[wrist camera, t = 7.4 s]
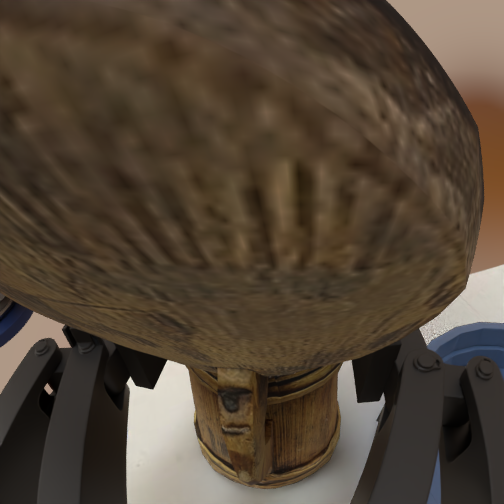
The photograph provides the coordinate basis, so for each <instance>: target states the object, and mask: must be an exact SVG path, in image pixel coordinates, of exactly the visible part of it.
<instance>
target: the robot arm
mask: <svg viewBox="0 0 504 504" xmlns="http://www.w3.org/2000/svg"><path fill="white" fill-rule="evenodd" d="M15 303H16V302H15V301H13V300H11V299H10V298H8V297H6V296H5V295H3V294H1V293H0V322H1V321H2V320H3V319H4V318H5V317H6V316H7V315H8V314H9V312H10V311H11V310H12V308H13V307H14V305H15ZM62 331H63V333H64V335H65V336H66V338H67V340H68V342H69V344H70V346H71V347H72V348H59V347H58V345H57V344H56V342H55V341H54V339H51V338H45V339H42V340H39V341H38V342H37V343H35V344H34V345H33V347H32V348H31V349H30V350H29V352H28V353H27V355H26V356H25V357H24V359H23V360H22V362H21V363H20V365H19V366H18V368H17V369H16V371H15V372H14V374H13V375H12V377H11V378H10V380H9V382H8V383H7V385H6V386H5V388H4V389H3V391H2V393H1V394H0V504H127V489H126V448H127V423H128V408H129V395H130V391H129V387H128V385H127V384H126V383H127V381H128V379H129V378H130V376H131V378H132V380H133V382H134V383H135V385H136V386H139V387H144V388H148V389H154V387H155V385H156V383H157V381H158V378H159V376H160V374H161V372H162V370H163V368H164V366H165V364H166V362H167V359H164V358H161V357H158V356H154V355H151V354H147V353H144V352H140V351H137V350H134V349H131V348H128V347H125V346H122V345H119V344H116V343H114V342H111V341H108V340H105V339H103V338H100V337H98V336H95V335H92V334H90V333H87V332H84V331H81V330H79V329H76V328H73V327H70V326H67V325H65V326H64V327H63V329H62ZM352 365H353V372H354V379H355V386H356V394H357V402H358V403H363V402H374V401H379V400H380V398H381V396H382V394H383V392H384V397H385V402H386V403H385V405H384V407H383V409H382V411H381V413H380V415H379V417H378V419H377V421H379V423H378V427H377V430H376V434H375V437H374V440H373V443H372V447H371V450H370V453H369V456H368V459H367V462H366V464H365V467H364V470H363V473H362V475H361V478H360V481H359V483H358V486H357V488H356V491H355V493H354V496H353V498H352V500H351V503H350V504H427V501H428V497H429V493H430V489H431V485H432V481H433V476H434V471H435V466H436V461H437V455H438V450H439V462H440V482H441V504H504V379H503V377H502V374H501V371H500V369H499V367H498V365H497V364H496V363H495V362H494V361H493V360H492V359H490V358H488V357H486V356H475V357H473V358H472V359H471V360H469V362H468V364H467V365H466V366H457V365H450V364H446V363H444V362H443V360H442V358H441V357H440V355H439V354H437V353H436V352H434V351H433V350H429V349H428V348H427V346H426V343H425V341H424V339H423V336H422V334H421V332H420V329H419V328H418V329H417V330H415V331H414V332H412V333H410V334H409V335H407V336H405V337H404V338H402V339H400V340H398V341H396V342H394V343H392V344H390V345H388V346H386V347H384V348H382V349H380V350H377V351H375V352H373V353H370V354H368V355H365V356H363V357H360V358H357V359H353V360H352ZM47 383H48V384H49V386H50V387H51V389H52V390H53V392H52V393H51V394H50V395H49V394H48V393H47V392H46V390H45V389H44V387H45V385H46V384H47Z"/></svg>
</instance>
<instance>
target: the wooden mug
mask: <svg viewBox="0 0 504 504" xmlns="http://www.w3.org/2000/svg"><path fill="white" fill-rule="evenodd" d="M483 204H484V182H483V166H482V155H481V147H480V139H479V132H478V127H477V124H476V123H475V121H474V119H473V117H472V115H471V113H470V111H469V109H468V108H467V106H466V104H465V102H464V101H463V99H462V97H461V95H460V94H459V92H458V91H457V89H456V87H455V86H454V84H453V83H452V81H451V79H450V78H449V77H448V75H447V73H446V72H445V70H444V69H443V68H442V66H441V65H440V63H439V62H438V60H437V59H436V58H435V56H434V55H433V54H432V52H431V51H430V50H429V48H428V47H427V46H426V45H425V43H424V42H423V41H422V39H421V38H420V37H419V36H418V35H417V33H416V32H415V31H414V30H413V29H412V28H411V26H410V25H409V24H408V23H407V22H406V21H405V20H404V18H403V17H402V16H401V15H400V14H399V13H398V12H397V11H396V10H395V9H394V8H393V7H392V6H391V5H390V4H389V3H388V2H387V1H386V0H0V293H1V294H3V295H5V296H6V297H8V298H10V299H11V300H13V301H15V302H17V303H19V304H20V305H22V306H24V307H26V308H28V309H30V310H32V311H34V312H36V313H39V314H41V315H43V316H45V317H48V318H50V319H53V320H55V321H57V322H59V323H62V324H65V325H67V326H70V327H73V328H76V329H79V330H81V331H84V332H87V333H90V334H92V335H95V336H98V337H100V338H103V339H105V340H108V341H111V342H114V343H116V344H119V345H122V346H125V347H128V348H131V349H134V350H137V351H140V352H144V353H147V354H151V355H154V356H158V357H161V358H164V359H167V360H170V361H174V362H177V363H180V364H183V365H185V366H186V367H187V368H188V370H189V376H190V382H191V388H192V393H193V399H194V404H195V413H194V425H195V429H196V433H197V438H198V441H199V444H200V447H201V451H202V454H203V455H204V457H205V458H206V460H207V461H208V462H209V464H210V465H211V466H212V468H213V469H214V470H215V471H217V472H218V473H220V474H222V475H223V476H225V477H227V478H228V479H230V480H232V481H234V482H237V483H240V484H243V485H246V486H249V487H255V488H261V489H272V488H278V487H282V486H286V485H289V484H293V483H296V482H298V481H300V480H301V479H303V478H305V477H307V476H309V475H311V474H313V473H314V472H316V471H317V470H318V469H319V468H321V467H322V466H323V465H324V464H325V463H327V462H328V461H329V460H330V458H331V456H332V453H333V451H334V449H335V447H336V444H337V442H338V440H339V436H340V422H341V416H340V410H339V405H338V401H337V384H338V372H339V370H340V368H341V366H342V364H343V362H344V361H349V360H353V359H357V358H360V357H363V356H365V355H368V354H370V353H373V352H375V351H377V350H380V349H382V348H384V347H386V346H388V345H390V344H392V343H394V342H396V341H398V340H400V339H402V338H404V337H405V336H407V335H409V334H410V333H412V332H414V331H415V330H417V329H418V328H420V327H422V326H423V325H425V324H426V323H428V322H429V321H431V320H432V319H434V318H435V317H437V316H438V315H439V314H440V313H441V312H442V311H443V310H444V309H445V308H446V307H447V306H448V305H449V304H451V303H452V302H453V301H454V300H455V299H456V298H457V297H458V296H459V295H460V294H461V293H462V292H463V291H464V289H465V288H466V285H467V281H468V278H469V274H470V270H471V266H472V262H473V258H474V254H475V249H476V245H477V240H478V235H479V230H480V224H481V218H482V211H483Z"/></svg>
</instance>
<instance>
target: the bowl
mask: <svg viewBox="0 0 504 504" xmlns="http://www.w3.org/2000/svg"><path fill="white" fill-rule="evenodd" d="M427 348H428V349H429V350H433V351H434V352H436V353H437V354H439V355H440V357H441V358H442V360H443V362H444V363H446V364H450V365H457V366H466V365H467V364H468V362H469V360H471V359H472V358H473V357H475V356H486V357H488V358H490V359H492V360H493V361H494V362H495V363H496V364H497V365H498V367H499V369H500V371H501V374H502V377H503V379H504V323H490V322H477V323H472V324H468V325H463V326H458V327H455V328H453V329H451V330H450V331H448V332H446V333H444V334H443V335H441V336H439V337H437V338H435V339H433V340H432V341H431V342H430V343H429V344H428V345H427ZM427 504H441V482H440V462H439V450H438V455H437V461H436V466H435V471H434V476H433V481H432V485H431V489H430V493H429V497H428V501H427Z"/></svg>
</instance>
